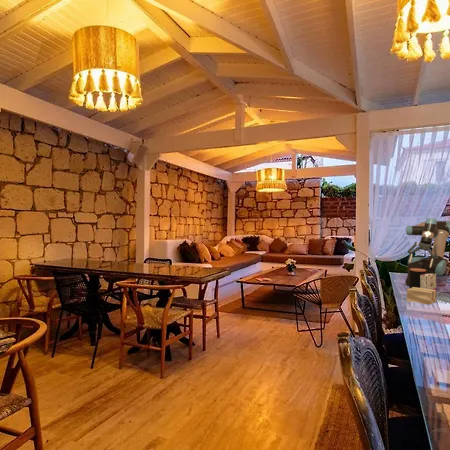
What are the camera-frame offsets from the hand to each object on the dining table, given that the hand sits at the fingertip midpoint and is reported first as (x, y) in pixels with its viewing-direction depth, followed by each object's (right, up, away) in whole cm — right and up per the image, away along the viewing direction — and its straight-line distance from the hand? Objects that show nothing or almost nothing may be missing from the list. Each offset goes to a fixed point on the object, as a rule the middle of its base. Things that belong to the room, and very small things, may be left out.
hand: (419, 264), depth 260 cm
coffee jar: (-2, -21, -1) cm, 21 cm away
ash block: (-13, -22, -24) cm, 35 cm away
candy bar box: (-2, -22, -14) cm, 26 cm away
